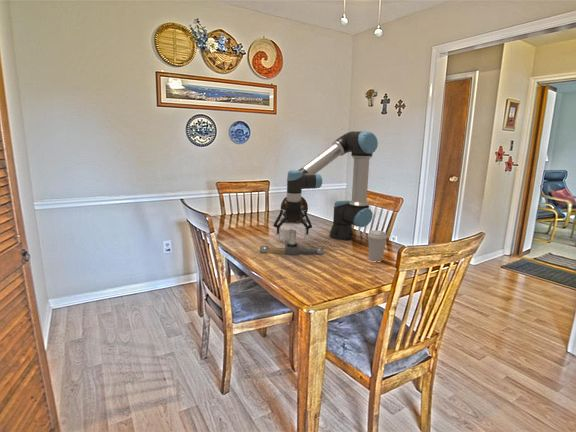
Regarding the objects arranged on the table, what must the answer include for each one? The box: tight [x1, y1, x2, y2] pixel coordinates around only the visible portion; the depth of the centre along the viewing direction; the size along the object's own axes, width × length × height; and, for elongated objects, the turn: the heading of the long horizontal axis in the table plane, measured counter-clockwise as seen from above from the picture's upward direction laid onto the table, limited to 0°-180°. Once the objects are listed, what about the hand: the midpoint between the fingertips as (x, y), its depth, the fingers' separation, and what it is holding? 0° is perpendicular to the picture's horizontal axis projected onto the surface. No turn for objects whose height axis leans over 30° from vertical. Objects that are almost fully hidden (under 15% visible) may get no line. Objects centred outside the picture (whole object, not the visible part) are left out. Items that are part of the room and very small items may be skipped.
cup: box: [274, 226, 293, 243], centre depth 198 cm, size 7×10×8 cm
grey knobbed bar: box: [259, 242, 325, 256], centre depth 179 cm, size 34×7×4 cm, turn 91°
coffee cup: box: [367, 229, 388, 262], centre depth 170 cm, size 10×10×15 cm
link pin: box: [288, 229, 297, 247], centre depth 178 cm, size 4×4×12 cm
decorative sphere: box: [280, 195, 309, 222], centre depth 246 cm, size 20×20×20 cm
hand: (292, 240), depth 178 cm, fingers open, 13 cm apart
